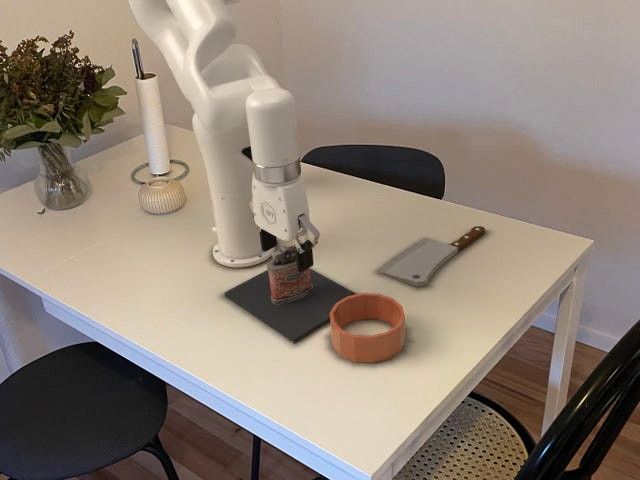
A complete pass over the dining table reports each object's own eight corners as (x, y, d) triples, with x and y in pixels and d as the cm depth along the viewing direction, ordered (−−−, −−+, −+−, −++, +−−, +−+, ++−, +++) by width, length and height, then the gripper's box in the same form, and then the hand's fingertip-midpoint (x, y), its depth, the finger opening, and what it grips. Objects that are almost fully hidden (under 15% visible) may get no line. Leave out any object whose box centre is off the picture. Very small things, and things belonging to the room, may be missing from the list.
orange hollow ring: (316, 340, 110) (314, 316, 107) (368, 308, 116) (367, 284, 113) (367, 373, 102) (366, 348, 99) (420, 337, 108) (420, 312, 105)
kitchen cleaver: (453, 217, 138) (495, 230, 132) (453, 222, 139) (495, 234, 132) (376, 268, 125) (418, 285, 119) (376, 273, 126) (419, 290, 119)
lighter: (276, 307, 117) (269, 258, 112) (268, 297, 120) (261, 250, 114) (316, 292, 120) (312, 244, 115) (307, 283, 123) (303, 236, 117)
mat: (224, 296, 123) (224, 292, 122) (290, 261, 131) (290, 257, 131) (294, 343, 110) (294, 339, 109) (363, 301, 118) (363, 297, 117)
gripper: (227, 161, 110) (240, 249, 120) (294, 192, 99) (303, 286, 108) (262, 147, 114) (272, 233, 124) (331, 175, 103) (337, 267, 112)
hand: (287, 258), depth 116 cm, fingers open, 9 cm apart
